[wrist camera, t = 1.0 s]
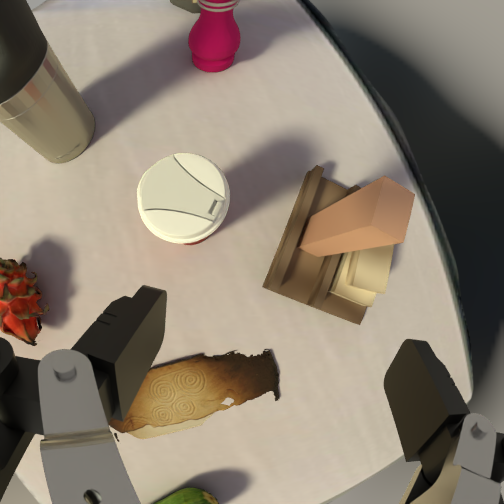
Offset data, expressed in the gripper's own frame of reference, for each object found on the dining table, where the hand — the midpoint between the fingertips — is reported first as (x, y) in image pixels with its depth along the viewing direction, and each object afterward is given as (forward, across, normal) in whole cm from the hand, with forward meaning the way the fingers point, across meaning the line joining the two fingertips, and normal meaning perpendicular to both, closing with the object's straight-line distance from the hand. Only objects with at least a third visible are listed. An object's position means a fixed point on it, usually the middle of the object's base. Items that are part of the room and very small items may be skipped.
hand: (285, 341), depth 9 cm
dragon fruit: (+18, +30, +18) cm, 39 cm away
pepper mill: (+39, +14, -17) cm, 44 cm away
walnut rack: (+30, -9, +6) cm, 32 cm away
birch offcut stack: (+29, -12, +6) cm, 32 cm away
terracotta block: (+29, -5, +5) cm, 30 cm away
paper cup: (+27, +10, +6) cm, 30 cm away
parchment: (+18, +6, +26) cm, 32 cm away
